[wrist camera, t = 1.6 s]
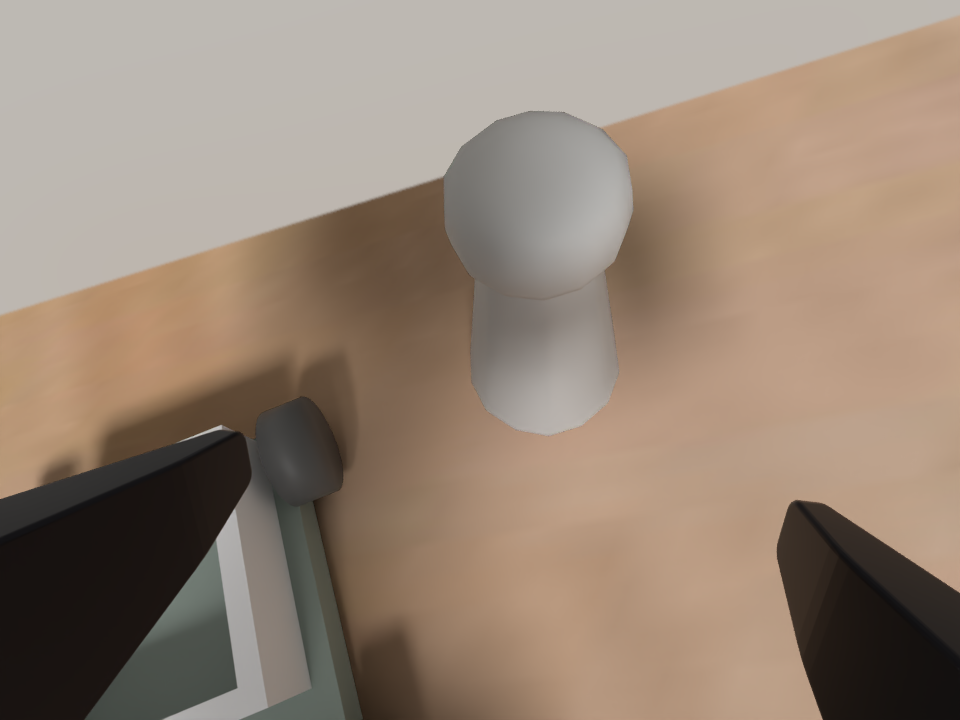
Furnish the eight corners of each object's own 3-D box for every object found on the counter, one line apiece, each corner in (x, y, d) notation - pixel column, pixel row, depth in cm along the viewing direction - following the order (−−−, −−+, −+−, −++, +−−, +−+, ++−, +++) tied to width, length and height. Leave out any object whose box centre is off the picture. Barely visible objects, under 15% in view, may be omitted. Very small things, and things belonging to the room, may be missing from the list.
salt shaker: (584, 471, 21) (622, 326, 9) (457, 419, 22) (349, 238, 11) (630, 347, 23) (712, 93, 11) (509, 307, 24) (467, 47, 12)
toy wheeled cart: (443, 850, 17) (407, 936, 13) (27, 1028, 16) (-148, 1176, 12) (329, 413, 23) (281, 377, 19) (29, 533, 23) (-85, 523, 19)
